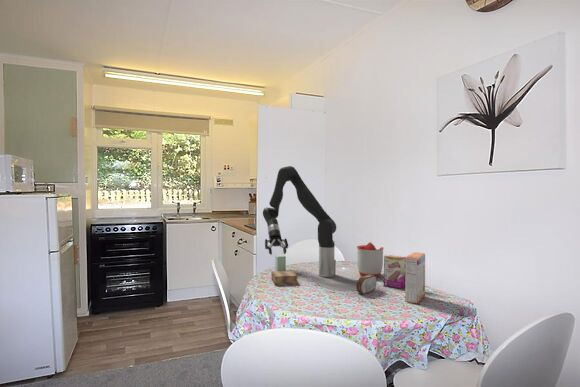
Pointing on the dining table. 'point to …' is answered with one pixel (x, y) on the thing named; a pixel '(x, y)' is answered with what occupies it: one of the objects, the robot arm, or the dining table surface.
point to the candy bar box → (394, 271)
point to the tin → (366, 284)
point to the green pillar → (280, 263)
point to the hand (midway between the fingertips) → (278, 253)
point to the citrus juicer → (369, 260)
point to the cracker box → (414, 277)
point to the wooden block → (284, 277)
